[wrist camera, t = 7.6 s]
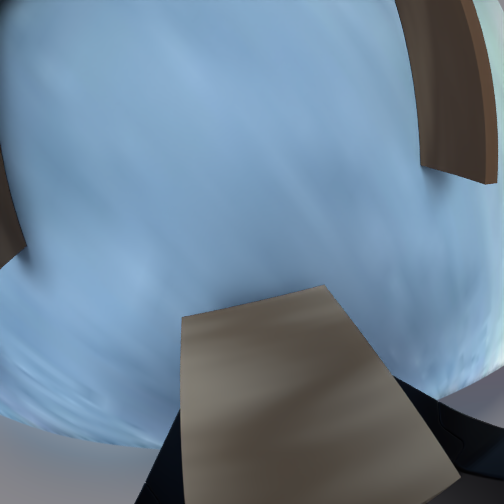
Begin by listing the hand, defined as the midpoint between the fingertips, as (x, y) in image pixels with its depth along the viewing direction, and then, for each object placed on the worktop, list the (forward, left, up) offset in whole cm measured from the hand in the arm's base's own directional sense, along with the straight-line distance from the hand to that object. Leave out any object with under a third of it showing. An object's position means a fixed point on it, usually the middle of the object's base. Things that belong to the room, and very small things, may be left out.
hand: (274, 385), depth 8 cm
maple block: (0, 0, -2) cm, 2 cm away
